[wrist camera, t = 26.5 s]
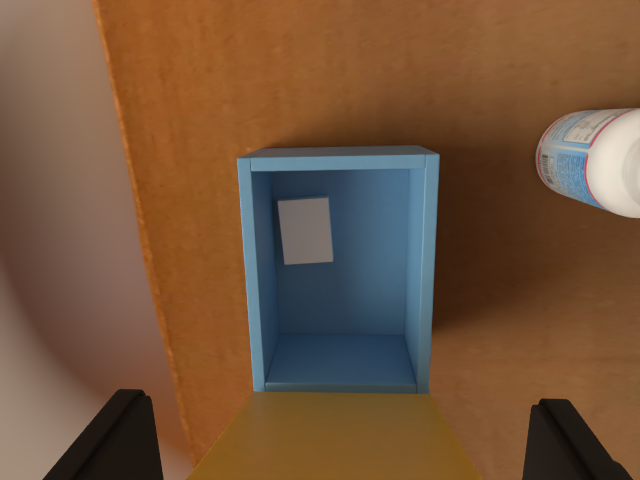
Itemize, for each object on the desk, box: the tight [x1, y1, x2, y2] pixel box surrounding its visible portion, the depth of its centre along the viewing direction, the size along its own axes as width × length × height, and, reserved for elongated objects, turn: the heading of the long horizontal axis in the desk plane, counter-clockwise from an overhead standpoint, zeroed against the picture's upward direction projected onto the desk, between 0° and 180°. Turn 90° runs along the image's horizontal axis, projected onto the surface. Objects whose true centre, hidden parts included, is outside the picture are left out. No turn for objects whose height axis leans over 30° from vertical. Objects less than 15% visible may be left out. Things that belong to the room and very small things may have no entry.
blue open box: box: [237, 145, 440, 394], centre depth 32 cm, size 16×12×8 cm
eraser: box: [278, 195, 333, 265], centre depth 34 cm, size 1×5×4 cm
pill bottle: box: [536, 108, 640, 218], centre depth 27 cm, size 6×6×11 cm
